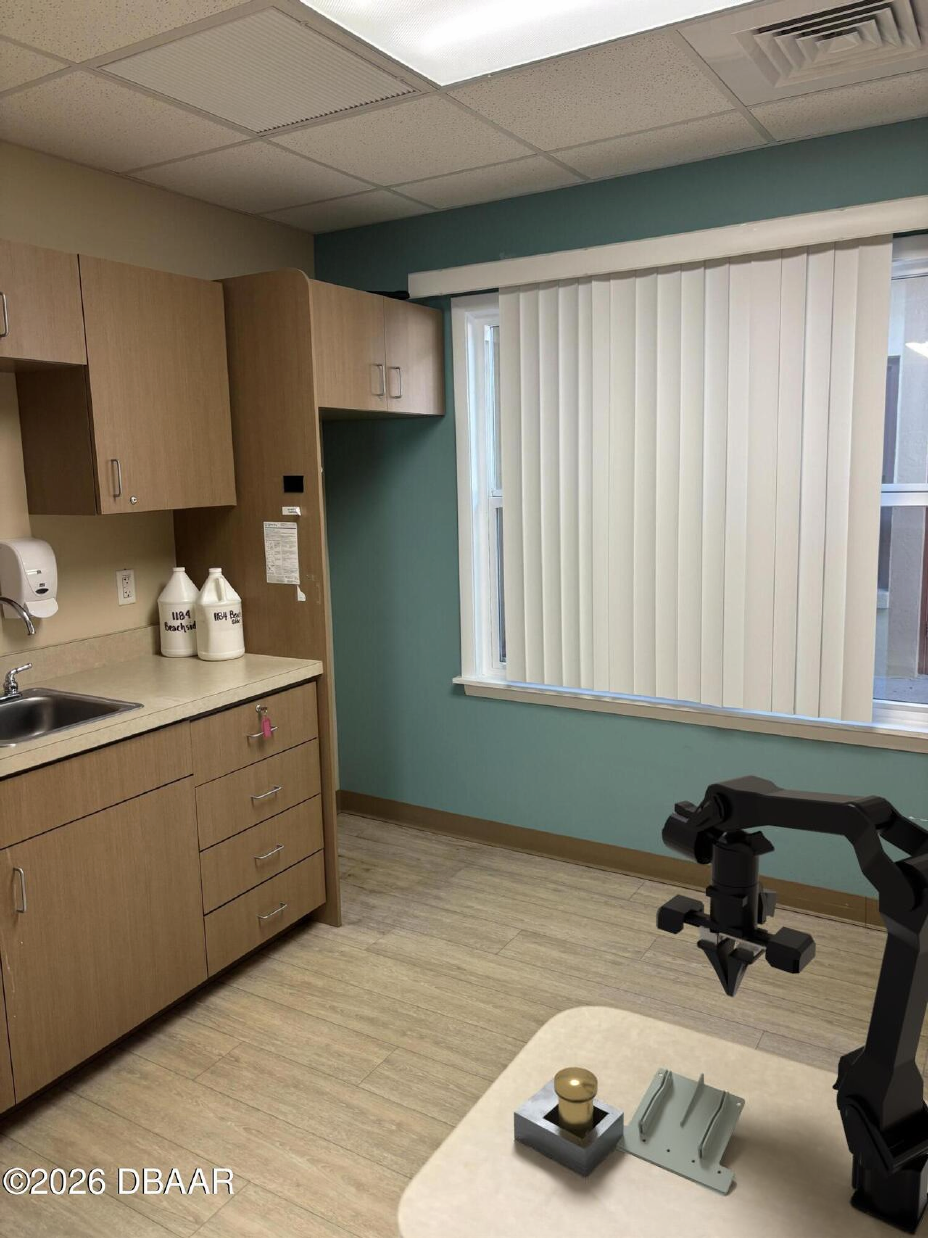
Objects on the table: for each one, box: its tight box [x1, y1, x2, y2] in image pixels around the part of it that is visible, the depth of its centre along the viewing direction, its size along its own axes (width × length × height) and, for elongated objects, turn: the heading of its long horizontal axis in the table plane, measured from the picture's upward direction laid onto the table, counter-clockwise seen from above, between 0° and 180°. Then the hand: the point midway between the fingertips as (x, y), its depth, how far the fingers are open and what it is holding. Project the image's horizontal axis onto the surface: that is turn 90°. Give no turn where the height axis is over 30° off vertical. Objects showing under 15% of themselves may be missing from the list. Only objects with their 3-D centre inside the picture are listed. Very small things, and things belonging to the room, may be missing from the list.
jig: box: [513, 1077, 625, 1179], centre depth 111 cm, size 10×8×4 cm
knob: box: [553, 1066, 599, 1139], centre depth 110 cm, size 5×5×8 cm
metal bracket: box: [615, 1067, 746, 1197], centre depth 111 cm, size 14×6×15 cm
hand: (731, 995), depth 119 cm, fingers closed
